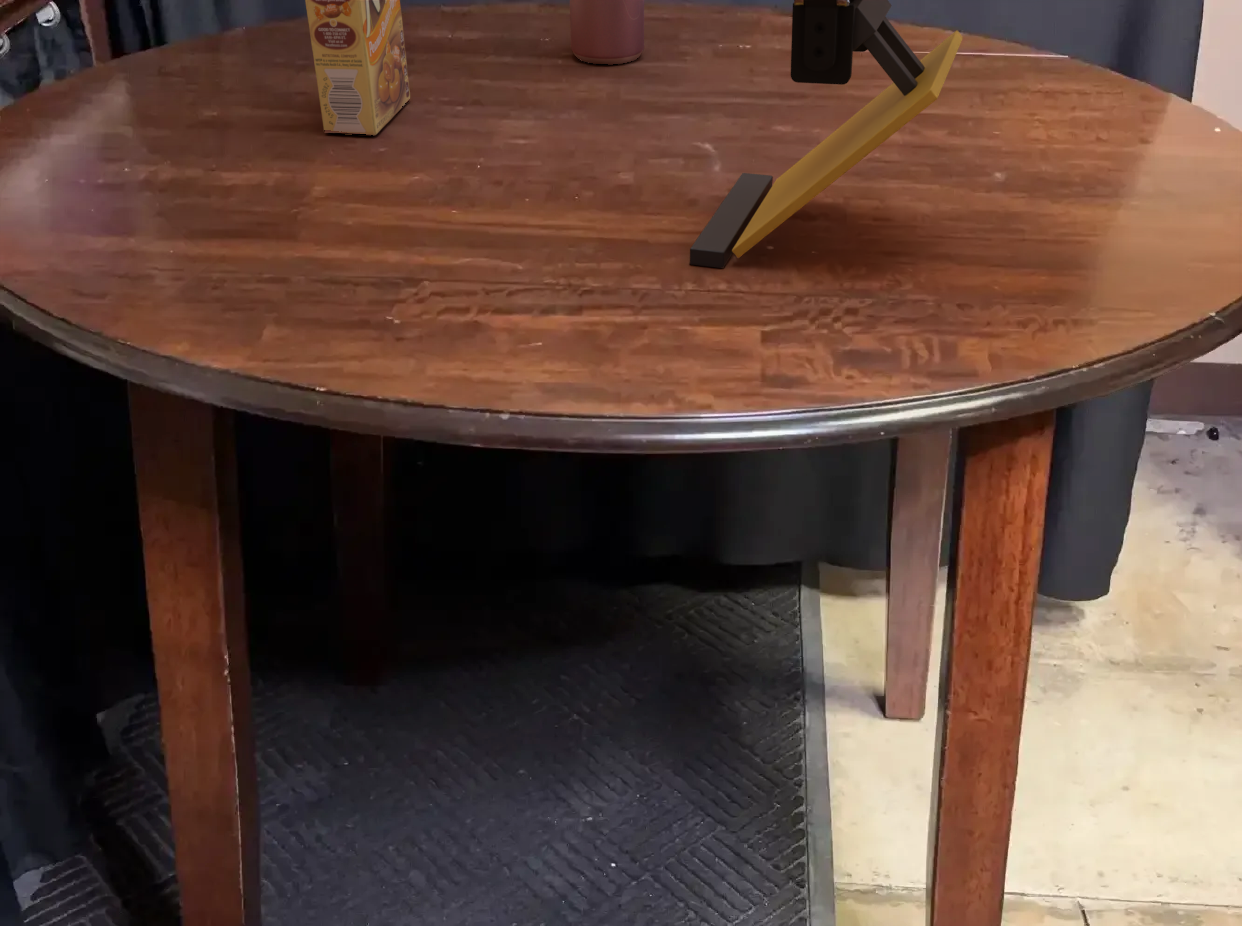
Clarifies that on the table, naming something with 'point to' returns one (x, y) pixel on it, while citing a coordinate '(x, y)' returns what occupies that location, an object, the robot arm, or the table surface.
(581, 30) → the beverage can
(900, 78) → the sign
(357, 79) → the candy box
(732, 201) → the bar
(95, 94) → the table surface
